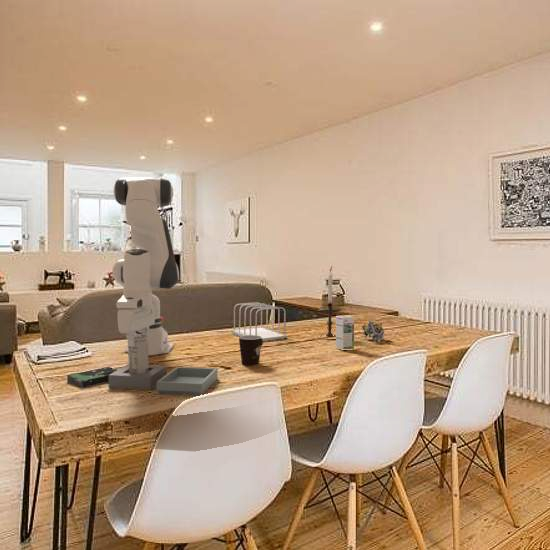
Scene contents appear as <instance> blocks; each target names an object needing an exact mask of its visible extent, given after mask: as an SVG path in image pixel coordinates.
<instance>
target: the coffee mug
mask: <svg viewBox="0 0 550 550" xmlns="http://www.w3.org/2000/svg"><path fill="white" fill-rule="evenodd" d="M238 340H239V351H240V360H241V365H242V364H243V366H247V367H253V365H255V366H257V365H259V364H260V358H261V349H262V346H263V344H264V342H263V340H262V337H261V336H256V335H245V336H240V337H239V336H238Z"/></svg>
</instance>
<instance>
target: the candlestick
mask: <svg viewBox="0 0 550 550" xmlns="http://www.w3.org/2000/svg"><path fill="white" fill-rule="evenodd" d="M332 269H333V265H331V267H330V269H329V274H328V275H327V276H328V279H327V280H328V282H327V283H328V284H327V285H328V286H327V288H328V289H327V294H328V295H327V299H328V300H327V306H320V307H318V311H319V312H323V313H326V314H328V321H326V324H327V327H326V328H327V333H326V334H325V335H326V337H334V336H336V334H333V333H332V329H333V327H332V325H333V321H332V314H334V313H339V312H342V307H339V306H333V304H334V302H333V274H332ZM322 335H323V334H321V335H320V336H319V338H320V337H321V336H322ZM333 335H334V336H333Z"/></svg>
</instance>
